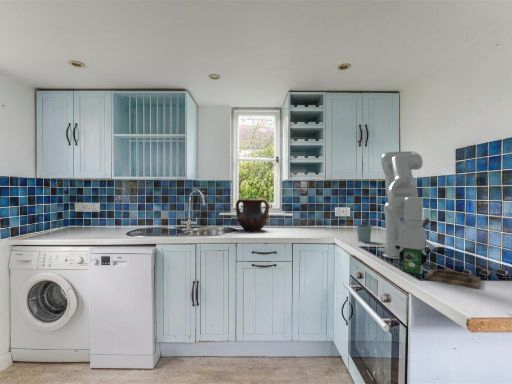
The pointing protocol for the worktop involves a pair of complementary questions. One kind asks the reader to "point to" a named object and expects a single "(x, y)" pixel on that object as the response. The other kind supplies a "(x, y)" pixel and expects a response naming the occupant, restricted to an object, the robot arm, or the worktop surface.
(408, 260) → the coffee box
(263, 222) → the dark brown round pot
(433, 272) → the holder
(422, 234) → the robot arm
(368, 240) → the grey-green pot
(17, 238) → the worktop surface
